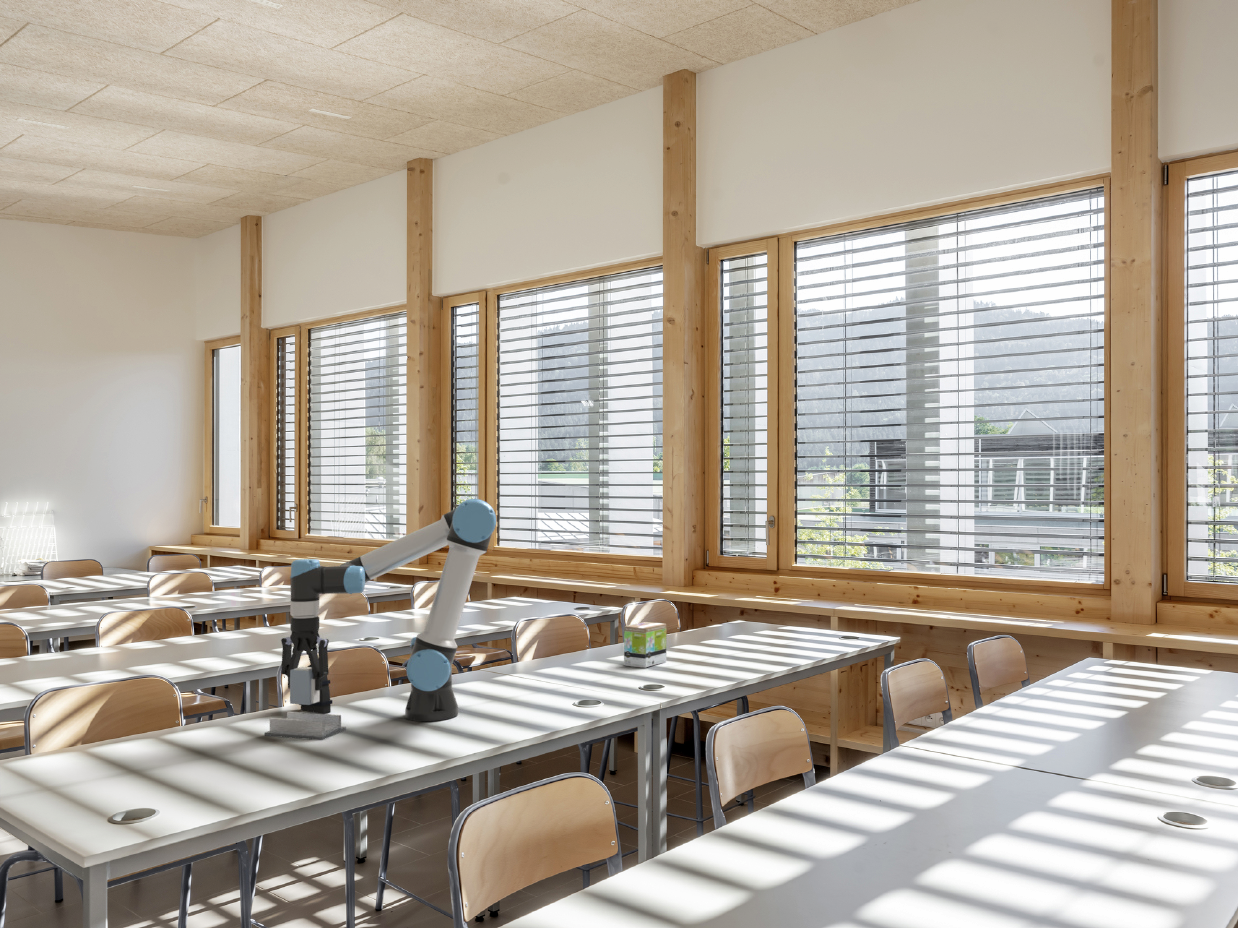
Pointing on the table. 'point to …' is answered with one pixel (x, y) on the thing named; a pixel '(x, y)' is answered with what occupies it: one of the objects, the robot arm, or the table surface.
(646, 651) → the tea box
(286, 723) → the grey piece
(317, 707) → the magazine
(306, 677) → the block
